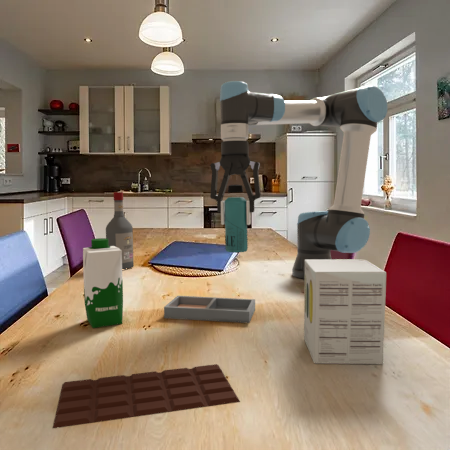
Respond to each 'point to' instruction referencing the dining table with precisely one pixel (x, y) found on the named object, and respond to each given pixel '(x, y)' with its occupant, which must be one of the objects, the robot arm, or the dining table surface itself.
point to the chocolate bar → (142, 395)
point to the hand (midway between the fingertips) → (236, 224)
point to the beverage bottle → (235, 221)
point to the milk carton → (103, 283)
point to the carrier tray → (210, 309)
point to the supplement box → (344, 311)
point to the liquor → (121, 232)
